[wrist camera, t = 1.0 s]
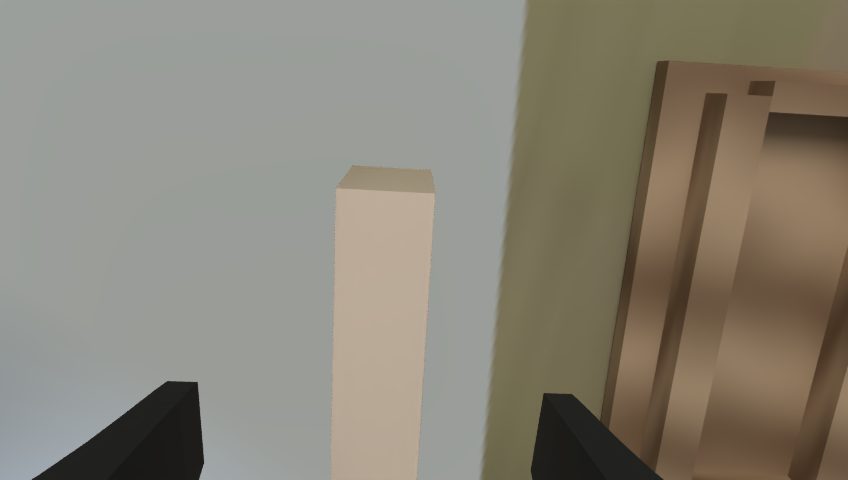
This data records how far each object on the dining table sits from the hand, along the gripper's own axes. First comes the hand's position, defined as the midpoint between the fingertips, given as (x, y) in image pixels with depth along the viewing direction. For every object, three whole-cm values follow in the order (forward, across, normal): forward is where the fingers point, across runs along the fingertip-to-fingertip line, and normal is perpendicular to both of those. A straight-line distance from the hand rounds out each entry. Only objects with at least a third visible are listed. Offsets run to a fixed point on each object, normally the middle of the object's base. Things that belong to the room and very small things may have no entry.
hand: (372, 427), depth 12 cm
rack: (+11, -15, +2) cm, 19 cm away
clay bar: (+11, 0, +3) cm, 12 cm away
